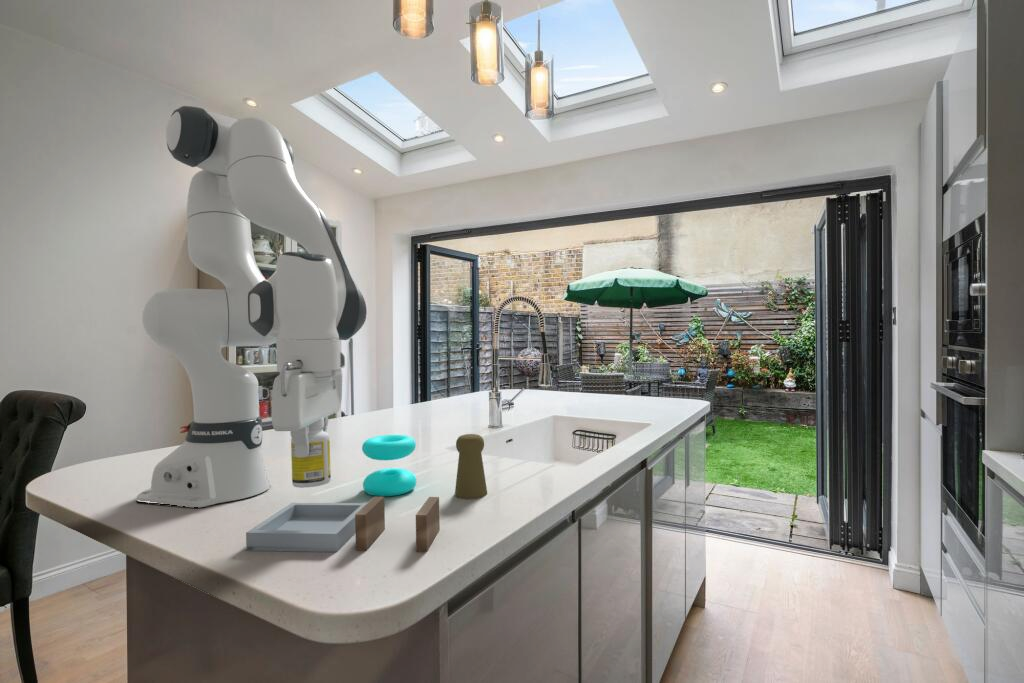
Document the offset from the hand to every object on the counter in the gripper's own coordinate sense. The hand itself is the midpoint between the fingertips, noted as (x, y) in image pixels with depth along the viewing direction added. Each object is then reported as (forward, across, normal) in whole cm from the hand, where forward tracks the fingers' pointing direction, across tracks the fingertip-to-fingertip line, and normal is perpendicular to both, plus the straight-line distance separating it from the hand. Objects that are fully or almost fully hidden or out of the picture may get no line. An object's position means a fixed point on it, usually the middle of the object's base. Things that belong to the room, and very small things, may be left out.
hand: (311, 451), depth 79 cm
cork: (+13, +18, -23) cm, 32 cm away
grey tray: (+12, 0, 0) cm, 12 cm away
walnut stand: (+13, -3, -13) cm, 19 cm away
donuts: (+13, +22, -7) cm, 26 cm away
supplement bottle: (+5, 0, 0) cm, 5 cm away
